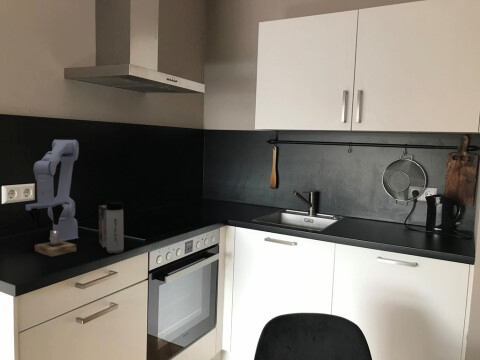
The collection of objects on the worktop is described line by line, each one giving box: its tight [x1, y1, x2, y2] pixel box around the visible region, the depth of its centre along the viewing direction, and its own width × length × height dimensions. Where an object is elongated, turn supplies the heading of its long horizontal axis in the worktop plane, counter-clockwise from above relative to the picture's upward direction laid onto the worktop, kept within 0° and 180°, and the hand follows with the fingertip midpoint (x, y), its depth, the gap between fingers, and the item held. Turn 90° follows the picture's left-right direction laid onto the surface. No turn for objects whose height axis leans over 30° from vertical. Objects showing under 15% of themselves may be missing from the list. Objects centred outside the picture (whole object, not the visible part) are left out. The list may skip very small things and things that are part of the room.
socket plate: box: [34, 240, 77, 258], centre depth 154 cm, size 10×12×2 cm
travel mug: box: [105, 199, 125, 254], centre depth 154 cm, size 6×7×20 cm
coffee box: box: [98, 204, 107, 248], centre depth 164 cm, size 9×6×16 cm
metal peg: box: [49, 229, 60, 247], centre depth 154 cm, size 3×3×8 cm
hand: (46, 226), depth 155 cm, fingers open, 7 cm apart
